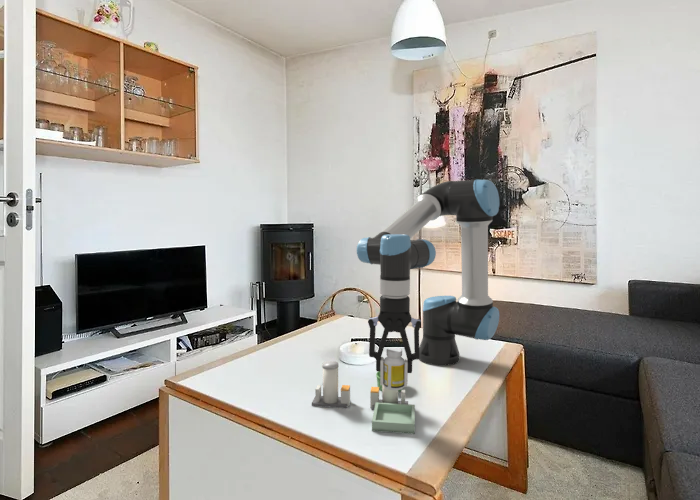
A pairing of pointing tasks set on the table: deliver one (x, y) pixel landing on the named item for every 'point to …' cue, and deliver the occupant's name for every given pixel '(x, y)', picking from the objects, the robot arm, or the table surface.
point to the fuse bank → (348, 391)
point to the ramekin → (379, 381)
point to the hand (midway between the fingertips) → (394, 383)
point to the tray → (394, 418)
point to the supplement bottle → (394, 369)
